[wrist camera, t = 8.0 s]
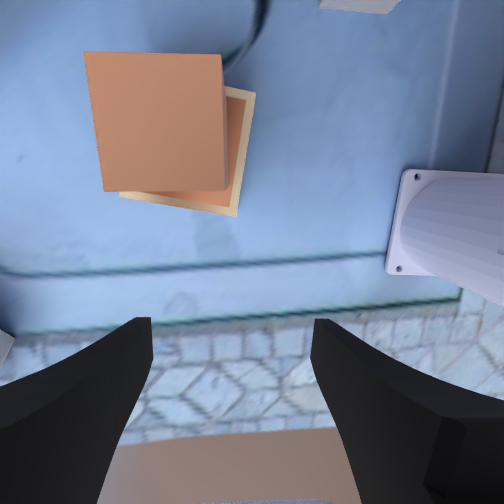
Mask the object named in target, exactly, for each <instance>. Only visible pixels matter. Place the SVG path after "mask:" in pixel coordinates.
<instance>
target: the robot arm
mask: <svg viewBox="0 0 504 504" xmlns="http://www.w3.org/2000/svg"><path fill="white" fill-rule="evenodd" d="M415 174H417V175H418V178H417V179H416V180H415V179H414V176H415ZM398 266H399V269H398V270H396V268H397V267H398ZM385 271H386V272H387V273H389V274H393V275H437V276H439V277H441V278H443V279H445V280H447V281H449V282H451V283H453V284H455V285H458V286H460V287H462V288H464V289H466V290H468V291H470V292H472V293H474V294H476V295H478V296H481V297H483V298H485V299H487V300H489V301H491V302H493V303H495V304H497V305H499V306H502V307H504V174H493V173H474V172H456V171H438V170H419V169H408V170H406V171H404V172H403V174H402V177H401V183H400V188H399V193H398V199H397V204H396V209H395V215H394V220H393V225H392V231H391V236H390V241H389V247H388V252H387V257H386V263H385ZM310 359H311V363H312V367H313V370H314V374H315V377H316V380H317V382H318V385H319V387H320V389H321V392H322V394H323V396H324V399H325V401H326V403H327V405H328V408H329V410H330V412H331V415H332V417H333V419H334V421H335V424H336V426H337V428H338V431H339V433H340V436H341V439H342V441H343V445H344V448H345V450H346V454H347V457H348V460H349V463H350V466H351V469H352V472H353V475H354V479H355V482H356V486H357V489H358V492H359V495H360V499H361V502H362V504H504V400H501V399H497V398H493V397H490V396H486V395H483V394H479V393H476V392H473V391H470V390H467V389H464V388H461V387H458V386H455V385H453V384H450V383H447V382H445V381H442V380H439V379H437V378H435V377H432V376H430V375H427V374H425V373H422V372H420V371H418V370H416V369H413V368H411V367H409V366H407V365H405V364H403V363H401V362H399V361H397V360H395V359H393V358H391V357H389V356H387V355H386V354H384V353H382V352H381V351H379V350H377V349H375V348H374V347H372V346H370V345H369V344H367V343H365V342H364V341H362V340H361V339H359V338H358V337H356V336H355V335H353V334H352V333H350V332H349V331H347V330H346V329H344V328H343V327H341V326H339V325H338V324H336V323H335V322H333V321H331V320H330V319H315V323H314V331H313V339H312V347H311V356H310ZM152 361H153V346H152V329H151V317H136V318H134V319H132V320H130V321H128V322H127V323H125V324H124V325H122V326H120V327H119V328H117V329H116V330H114V331H113V332H111V333H109V334H108V335H106V336H105V337H103V338H101V339H100V340H98V341H96V342H95V343H93V344H91V345H89V346H88V347H86V348H84V349H82V350H81V351H79V352H77V353H75V354H74V355H72V356H70V357H68V358H66V359H64V360H62V361H60V362H58V363H56V364H53V365H51V366H49V367H47V368H45V369H43V370H41V371H38V372H36V373H33V374H31V375H28V376H26V377H23V378H21V379H18V380H16V381H14V382H11V383H9V384H6V385H3V386H0V504H97V500H98V498H99V495H100V492H101V489H102V486H103V483H104V480H105V477H106V474H107V471H108V468H109V466H110V462H111V460H112V457H113V454H114V452H115V449H116V446H117V444H118V441H119V439H120V437H121V434H122V432H123V430H124V428H125V426H126V423H127V421H128V419H129V417H130V415H131V413H132V411H133V408H134V406H135V404H136V402H137V400H138V398H139V396H140V393H141V391H142V389H143V387H144V385H145V382H146V380H147V377H148V374H149V371H150V368H151V364H152ZM197 504H334V503H332V502H328V501H321V500H315V499H289V500H288V499H287V500H266V501H265V500H264V501H244V502H219V503H197Z"/></svg>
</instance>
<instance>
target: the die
mask: <svg viewBox="0 0 504 504" xmlns="http://www.w3.org/2000/svg"><path fill="white" fill-rule="evenodd" d="M14 340H15V338H14V337H12V336H10V335H9V334H7V333H5V332H4V331H2V330H0V369H1V367H2V365H3V363H4V361H5V359H6V357H7V355H8V353H9V350H10V348H11V346H12V344H13V342H14Z"/></svg>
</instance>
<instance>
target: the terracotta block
mask: <svg viewBox="0 0 504 504" xmlns="http://www.w3.org/2000/svg"><path fill="white" fill-rule="evenodd" d="M83 54H84V60H85V67H86V74H87V81H88V87H89V94H90V101H91V107H92V114H93V121H94V128H95V134H96V141H97V148H98V155H99V161H100V168H101V175H102V182H103V188H104V192H140V191H225V190H226V189H227V188H228V187H229V173H228V134H227V101H226V93H225V84H224V76H223V67H222V59H221V54H182V53H138V52H94V51H83Z"/></svg>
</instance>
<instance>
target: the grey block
mask: <svg viewBox="0 0 504 504" xmlns="http://www.w3.org/2000/svg"><path fill="white" fill-rule="evenodd" d="M400 1H401V0H319V7H318V8H325V9H335V10H345V11H355V12H365V13H375V14H385V15H388V14H389V13H390V12H391V11H392V9H393V8H394V7H395V6H396V5H397V4H398V3H399V2H400Z"/></svg>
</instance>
